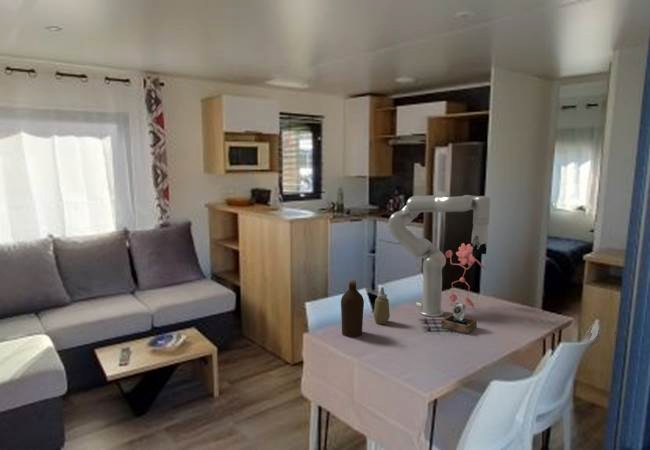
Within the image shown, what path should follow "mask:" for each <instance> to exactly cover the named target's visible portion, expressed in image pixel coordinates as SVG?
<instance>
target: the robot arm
mask: <svg viewBox="0 0 650 450" xmlns="http://www.w3.org/2000/svg"><path fill="white" fill-rule="evenodd" d="M490 208H491V197H490V196H487V195H471V194H464V195H461V196H460V195H459V196H443V195H434V194H433V195H413V196H411V197H409V198H408V199H407V200H406V205H405V206H403V207H402V209H401V210H398V211H395V212H394V213H393V214H391V216H390V217H389V219H388V230H389V233H390V234H391V236H392V238H394V239H395V240H396V241H397V242H398V243H399V244H400V245H401V246H402V247H403V248H404V249H405V250H406V251H407V252H409V254H410V255H412V256H413V257H414V258H417V259H420V258H422V259H423V263H422V272H423V273H422V274H423V275H422V276H423V281H422V283H423V284H422V285H423V287H422V288H423V289H422V302H419V301H417V302H416V305H415V307H417V308H419V314H420V315H422V316H426V317H433V318H435V317H437V318H438V317H442V316H444V314H445V311H444V310H443V309H442V294H443V291H442V289H443V274H442V273H443V267H445V266H446V262H447V257H446V255H445V254H444V253H443V252H442V251H441V250H440V249H439V248H438V247H437V246H435V245H434V243H432V242H431V241H430V240H429V239H427V238H424V237H417V236H416V235H415V234H414V233H413V232H412V231H411V230H410V229H408V228H406V226H407V225H408V224H410V223H411V222H412V221H413V220H414V219H416V218H417V216H419V214H420V213H464V212H467V211H470V210H473V211H472V212H473V213H472V214H473V217H472V225H473V226H472V231H471V242H470V244H471V247H472V248H473V252H472V256H473V257H474V258H479V257H480V254H481V255H486V254H487V245H488V244H487V243H488V236H489V231H488V230H489V229H488V226H489V225H490V212H491V209H490Z"/></svg>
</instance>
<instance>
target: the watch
mask: <svg viewBox="0 0 650 450" xmlns="http://www.w3.org/2000/svg"><path fill="white" fill-rule="evenodd" d="M466 311H467V310H466V307H465V304H462V303H458V304H456V305H455V306H454V307H453V308H452V315H454V317H455V319H453V320H452V322H454V323H458V324H463V325H467V320H464V319H463V318H464V317H465V316H466Z"/></svg>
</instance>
